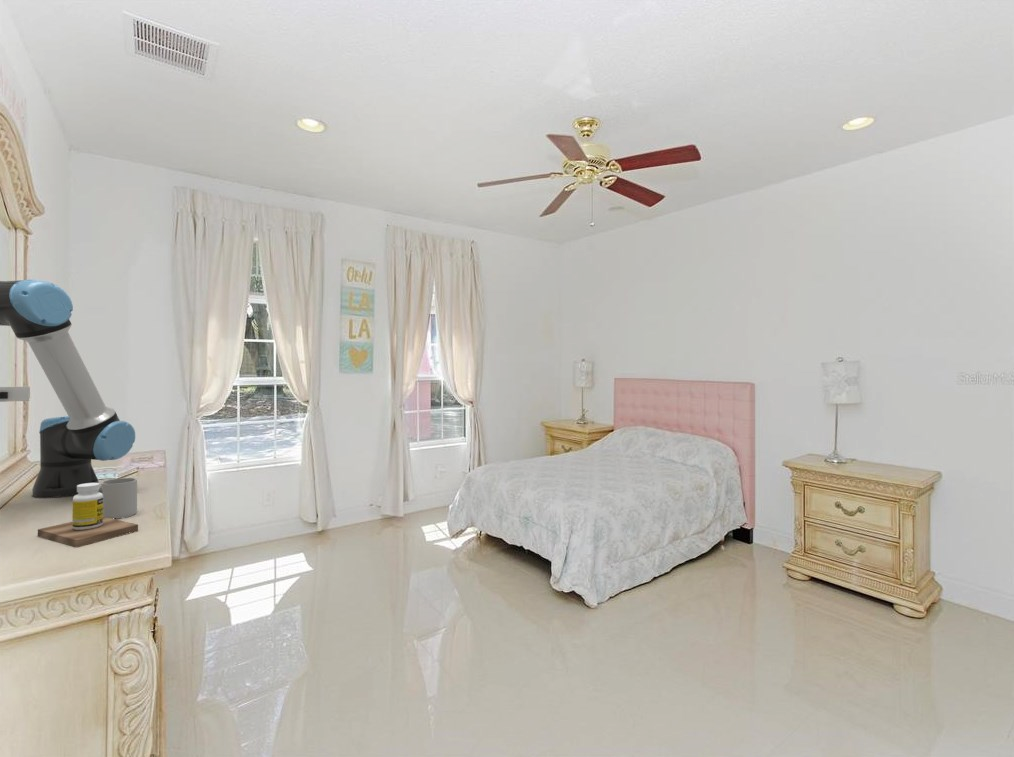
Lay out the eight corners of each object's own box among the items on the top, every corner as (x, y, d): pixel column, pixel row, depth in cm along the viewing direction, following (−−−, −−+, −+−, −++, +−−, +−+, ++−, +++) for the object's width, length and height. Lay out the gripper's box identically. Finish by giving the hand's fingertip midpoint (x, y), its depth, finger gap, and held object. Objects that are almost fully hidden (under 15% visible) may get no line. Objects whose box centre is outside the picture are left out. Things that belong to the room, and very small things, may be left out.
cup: (102, 521, 124) (102, 485, 124) (100, 512, 131) (100, 478, 131) (138, 515, 129) (138, 481, 129) (134, 507, 136) (134, 475, 136)
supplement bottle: (101, 528, 114) (101, 485, 114) (70, 532, 111) (70, 488, 111) (104, 522, 119) (104, 480, 118) (74, 525, 116) (74, 483, 115)
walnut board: (37, 535, 113) (37, 529, 113) (99, 521, 124) (99, 515, 124) (76, 547, 106) (76, 540, 106) (138, 530, 117) (138, 524, 117)
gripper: (-103, 410, 110) (30, 406, 125) (-131, 419, 92) (29, 413, 107) (-104, 376, 110) (30, 376, 125) (-131, 378, 92) (29, 378, 106)
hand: (30, 393), depth 116 cm, fingers open, 13 cm apart
